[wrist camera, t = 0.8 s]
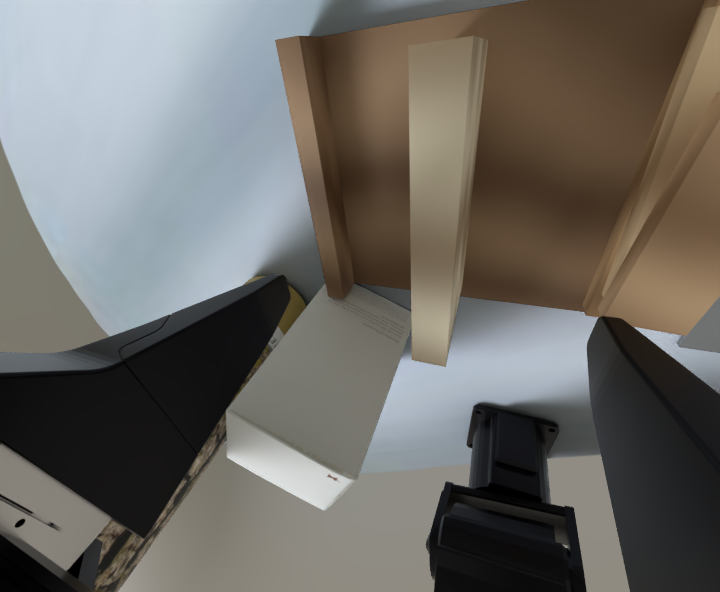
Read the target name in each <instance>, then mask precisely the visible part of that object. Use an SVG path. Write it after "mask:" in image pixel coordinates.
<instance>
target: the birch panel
mask: <svg viewBox="0 0 720 592" xmlns="http://www.w3.org/2000/svg"><path fill="white" fill-rule="evenodd" d="M487 48H488V40H487V39H483V38H479V37H476V36H469V37H462V38H456V39H449V40H442V41H435V42H429V43H422V44H415V45H408V65H409V152H410V239H411V326H412V360H415V361H420V362H425V363H430V364H434V365H439V366H444V367H446V362H447V357H448V352H449V348H450V343H451V338H452V333H453V328H454V323H455V318H456V313H457V308H458V303H459V298H460V293H461V288H462V283H463V274H464V264H465V255H466V245H467V236H468V227H469V217H470V208H471V198H472V189H473V180H474V170H475V161H476V151H477V142H478V133H479V123H480V114H481V104H482V95H483V86H484V76H485V67H486V57H487Z"/></svg>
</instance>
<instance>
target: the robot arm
mask: <svg viewBox="0 0 720 592" xmlns="http://www.w3.org/2000/svg"><path fill="white" fill-rule="evenodd" d="M290 299H291V294H290V290H289V287H288V283H287V280H286V277H285V276H284V275H281V274H270V275H268V276H265V277H263V278H260V279H258V280H255V281H253V282H250V283H248V284H245V285H243V286H240V287H238V288H235V289H233V290H230V291H228V292H225V293H223V294H220V295H218V296H215V297H213V298H210V299H207V300H205V301H202V302H200V303H197V304H195V305H192V306H190V307H187V308H185V309H182V310H180V311H177V312H175V313H172V314H171V315H167V316H165V317H162V318H160V319H157V320H154V321H152V322H149V323H147V324H144V325H141V326H139V327H136V328H133V329H130V330H127V331H125V332H122V333H119V334H116V335H113V336H110V337H108V338H105V339H102V340H99V341H97V342H93V343H90V344H87V345H84V346H81V347H79V348H76V349H72V350H68V351H63V352H57V353H46V354H45V353H42V354H41V353H12V352H9V353H8V352H0V592H95V591H93V590H94V585H95V580H96V575H97V570H98V565H99V560H100V555H101V550H102V545H103V542H102V541H100V540H98V539H97V538H96V537H97V536H98V534H99V533H100V532H101V531H102V530H103V529H104V527H105V526H106V525H107V524H108V523H109V521H110V520H111V521H113V522H115V523H116V524H118V525H120V526H122V527H123V528H125V529H127V530H129V531H130V532H132V533H134V534H135V535H137V536H139V537H141V538H142V539H145V538H146V536H147V535H148V534H149V532H150V531H151V529H152V528H153V526H154V525H155V523H156V522H157V520H158V518H159V517H160V515H161V514H162V512H163V510H164V509H165V507H166V506H167V504H168V502H169V501H170V499H171V498H172V496H173V494H174V493H175V491H176V490H177V488H178V487H179V485H180V483H181V482H182V480H183V479H184V477H185V475H186V474H187V472H188V471H189V469H190V467H191V466H192V464H193V463H194V461H195V459H196V458H197V456H198V454H199V453H200V451H201V450H202V448H203V446H204V445H205V443H206V442H207V440H208V438H209V437H210V435H211V434H212V432H213V431H214V429H215V427H216V426H217V424H218V423H219V421H220V419H221V418H222V416H223V415H224V413H225V411H226V410H227V408H228V407H229V405H230V403H231V402H232V400H233V399H234V397H235V396H236V394H237V392H238V391H239V389H240V388H241V386H242V384H243V383H244V381H245V380H246V378H247V376H248V375H249V373H250V372H251V370H252V368H253V367H254V365H255V364H256V362H257V361H258V359H259V357H260V356H261V354H262V353H263V351H264V349H265V348H266V346H267V345H268V343H269V341H270V340H271V338H272V336H273V334H274V333H275V331H276V329H277V327H278V325H279V323H280V320H281V318H282V316H283V314H284V312H285V310H286V308H287V306H288V304H289V302H290ZM587 359H588V374H589V390H590V402H591V408H592V414H593V418H594V423H595V428H596V432H597V437H598V442H599V447H600V451H601V456H602V461H603V466H604V470H605V475H606V480H607V484H608V489H609V494H610V498H611V503H612V508H613V513H614V517H615V522H616V527H617V532H618V536H619V541H620V546H621V550H622V555H623V559H624V564H625V569H626V574H627V579H628V584H629V588H630V592H720V394H719V393H717V392H716V391H715V390H714V389H712V388H711V387H710V386H708V385H707V384H706V383H705V382H703V381H702V380H701V379H699V378H698V377H697V376H696V375H694V374H693V373H692V372H690V371H689V370H688V369H687V368H685V367H684V366H683V365H681V364H680V363H679V362H677V361H676V360H675V359H674V358H672V357H671V356H670V355H668V354H667V353H666V352H665V351H663V350H662V349H661V348H659V347H658V346H657V345H656V344H654V343H653V342H652V341H650V340H649V339H648V338H647V337H645V336H644V335H643V334H641V333H640V332H639V331H638V330H636V329H635V328H634V327H632V326H631V325H630V324H629V323H627V322H626V321H625V320H623V319H621V318H617V317H609V316H601V317H599V319H598V320H597V322H596V324H595V326H594V328H593V331H592V333H591V335H590V337H589V340H588V343H587ZM558 433H559V426H558V425H557V424H556V423H553V422H549V421H545V420H540V419H536V418H532V417H528V416H523V415H519V414H515V413H511V412H507V411H502V410H498V409H494V408H490V407H485V406H481V405H475V406H474V407H473V411H472V416H471V422H470V427H469V433H468V438H467V446H468V447H469V448H472V458H471V468H470V479H469V487H465V486H460V485H454V484H453V483H451V482H446V483H445V487H444V490H443V491H442V493H441V496H440V500H439V503H438V507H437V510H436V514H435V518H434V521H433V525H432V529H431V532H430V534H429V536H428V539H427V542H426V548H427V551H428V553H429V554H430V571H431V576H432V578H433V580H435V588H434V592H586V585H585V578H584V570H583V564H582V558H581V551H580V545H579V538H578V532H577V525H576V519H575V513H574V508H573V507H569V506H565V507H562V506H557V505H552V504H551V499H550V488H549V477H548V466H547V455H548V453H549V451H550V449H551V447H552V445H553V443H554V441H555V439H556V437H557V435H558ZM562 544H564V545H568V548H565V547H564V546H563V545H562Z"/></svg>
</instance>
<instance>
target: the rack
mask: <svg viewBox="0 0 720 592" xmlns="http://www.w3.org/2000/svg"><path fill="white" fill-rule="evenodd" d="M704 1H705V0H527V1H522V2H516V3H510V4H505V5H499V6H493V7H487V8H482V9H476V10H470V11H465V12H459V13H453V14H447V15H442V16H436V17H430V18H425V19H419V20H413V21H407V22H402V23H396V24H390V25H385V26H379V27H373V28H367V29H362V30H356V31H350V32H345V33H339V34H333V35H327V36H322V37H314V36H295V37H289V38H284V39H278V40H275V42H276V46H277V51H278V56H279V61H280V66H281V71H282V75H283V80H284V85H285V90H286V95H287V100H288V104H289V109H290V114H291V119H292V124H293V128H294V133H295V138H296V143H297V148H298V153H299V157H300V162H301V167H302V172H303V177H304V182H305V186H306V191H307V196H308V201H309V206H310V210H311V215H312V220H313V225H314V230H315V235H316V239H317V244H318V249H319V254H320V259H321V264H322V268H323V273H324V278H325V283H326V288H327V293H328V297H333V298H340V299H344V298H345V297H346V295H347V294H348V292H349V291H350V289H351V288H352V286H353V285H354V283H359V284H367V285H375V286H383V287H391V288H399V289H407V290H411V239H410V152H409V65H408V45H415V44H422V43H429V42H435V41H442V40H449V39H456V38H462V37H469V36H476V37H479V38H483V39H487V40H488V48H487V57H486V67H485V76H484V86H483V95H482V104H481V114H480V123H479V133H478V142H477V151H476V161H475V170H474V180H473V189H472V198H471V208H470V217H469V227H468V236H467V245H466V255H465V264H464V274H463V283H462V288H461V293H460V296H462V297H470V298H478V299H486V300H494V301H502V302H510V303H518V304H526V305H534V306H542V307H550V308H558V309H566V310H574V311H582V312H585V311H584V308H583V302H584V300H585V297H586V295H587V292H588V290H589V287H590V285H591V282H592V280H593V277H594V275H595V272H596V270H597V267H598V265H599V262H600V260H601V257H602V255H603V252H604V250H605V247H606V245H607V242H608V240H609V237H610V235H611V232H612V230H613V227H614V225H615V222H616V220H617V217H618V215H619V212H620V210H621V207H622V205H623V202H624V200H625V197H626V195H627V192H628V190H629V188H630V185H631V183H632V180H633V178H634V175H635V173H636V170H637V168H638V165H639V163H640V160H641V158H642V155H643V153H644V150H645V148H646V145H647V143H648V140H649V138H650V135H651V133H652V130H653V128H654V125H655V123H656V120H657V118H658V115H659V113H660V110H661V108H662V105H663V103H664V100H665V98H666V95H667V93H668V90H669V88H670V85H671V83H672V80H673V78H674V75H675V73H676V70H677V68H678V65H679V63H680V60H681V58H682V55H683V53H684V50H685V48H686V45H687V43H688V40H689V38H690V35H691V33H692V30H693V28H694V25H695V23H696V20H697V18H698V15H699V13H700V11H701V8H702V6H703V3H704Z"/></svg>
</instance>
